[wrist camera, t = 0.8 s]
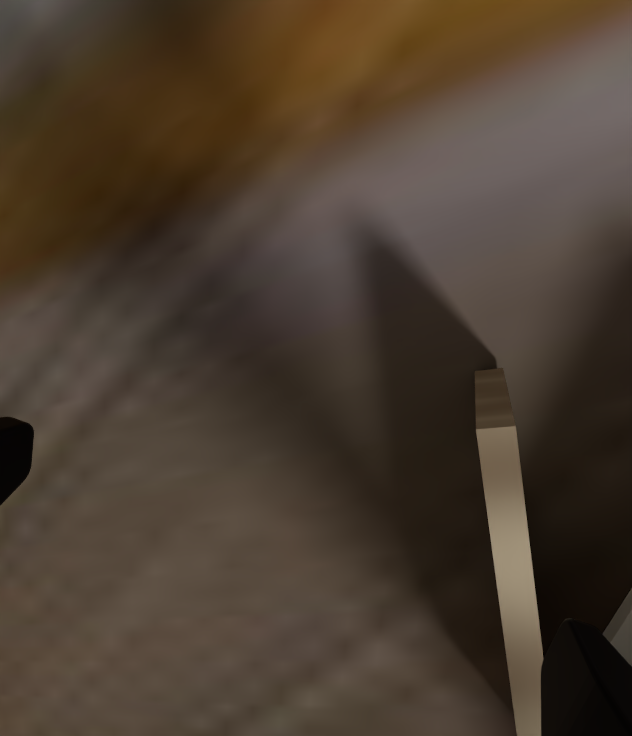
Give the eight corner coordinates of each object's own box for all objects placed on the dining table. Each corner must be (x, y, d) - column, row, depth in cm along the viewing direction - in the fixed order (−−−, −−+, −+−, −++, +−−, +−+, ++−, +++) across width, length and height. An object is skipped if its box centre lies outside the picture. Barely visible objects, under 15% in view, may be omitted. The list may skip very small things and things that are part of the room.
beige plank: (545, 723, 24) (571, 893, 18) (521, 722, 24) (537, 888, 18) (502, 367, 21) (515, 426, 15) (474, 370, 21) (476, 429, 15)
